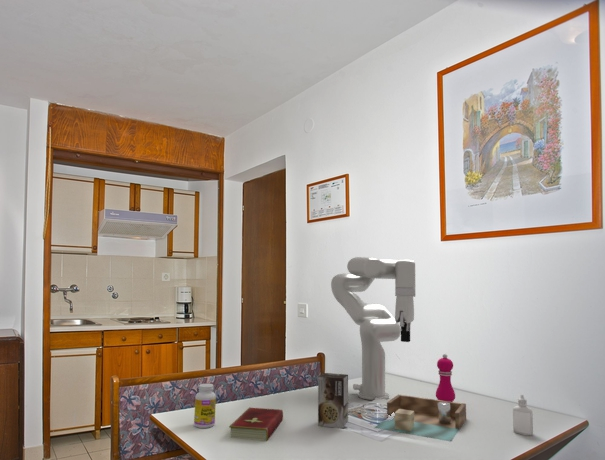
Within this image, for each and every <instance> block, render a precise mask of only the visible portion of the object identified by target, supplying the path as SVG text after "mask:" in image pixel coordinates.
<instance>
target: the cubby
mask: <svg viewBox="0 0 605 460" xmlns="http://www.w3.org/2000/svg"><path fill="white" fill-rule="evenodd" d="M439 402H448V403H450V411H451V423H449V424H443V423H440V422H439V417H438V403H439ZM398 409H404V410H411V411H414V428H413V429H412V430H411V431H406V430H400V429H395V416H394V418H393V419H392V420H390V421H383V420H382V421H380V423H378V424H377V425H375V426H374V429H379V430H385V431H389V432H396V433H400V434H401V433H402V434H406V435H412V436H417V437H424V438H430V439H435V440H440V441H441V440H442V441H447V442H452V441H453V439H454V438H455V436H456V435H457V433H458V432H459V431H460V429H461V428H462V426H463V424H464V423H465V422H466V420H467V403H462V402H455V401H453V402H449V401H442V400H438V399H435V398H434V399H432V398H426V397H419V396H411V395H406V394H404V395H403V394H397V395H396V396H394V397H393V398H391V399H389V400H388V401H387V402H386V415H387V414H388V415H390V416H391V414H392V413H393V412H394V413H395V412H396V411H397V410H398Z"/></svg>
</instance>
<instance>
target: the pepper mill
mask: <svg viewBox="0 0 605 460" xmlns="http://www.w3.org/2000/svg"><path fill="white" fill-rule="evenodd" d="M436 368H437V369H438V375H439V382H438V386H437V388H436V391H435V398H436V400H442V401H449V402H455V401H454V400H456V392H455V389H454V387H453V385H452V382H451V379H452V376H453V374H452V373H453V371H452V370H453V368H454V362H453V361H452V360H451V359H450V358H449V357H448V355H447V353H443V354H442V357H440V358H439V359H438V360H437V362H436Z"/></svg>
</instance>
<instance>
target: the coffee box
mask: <svg viewBox="0 0 605 460" xmlns="http://www.w3.org/2000/svg"><path fill="white" fill-rule="evenodd" d="M317 384H318V385H317V391H318V392H317V395H318V396H317V397H318V398H317V400H318V401H317V426H318V427H326V428H334V429H335V428H336V429H342V430H343V429H345V428H346V424H348V422H349V374H345V373H344V374H343V373H331V372H322V373H321V374H320V375H319V376H317Z"/></svg>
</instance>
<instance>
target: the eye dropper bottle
mask: <svg viewBox="0 0 605 460" xmlns="http://www.w3.org/2000/svg"><path fill="white" fill-rule="evenodd" d="M533 415H534V414H533V409H532V408H530V407H528V405H527V399H526V398H525V396H524V394H520V397H518V399H517V405H516V406H514V407H513V408H512V419H513V420H512V421H513V422H512V423H513V424H512V426H513V432H514V433H516V434H518V435H525V436H533V434H534V423H533V422H534V421H533V419H534V418H533Z"/></svg>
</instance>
